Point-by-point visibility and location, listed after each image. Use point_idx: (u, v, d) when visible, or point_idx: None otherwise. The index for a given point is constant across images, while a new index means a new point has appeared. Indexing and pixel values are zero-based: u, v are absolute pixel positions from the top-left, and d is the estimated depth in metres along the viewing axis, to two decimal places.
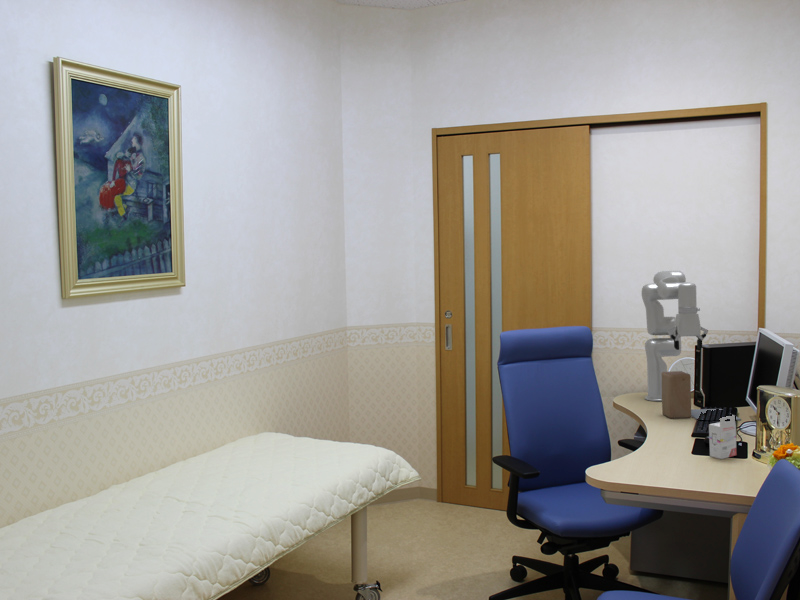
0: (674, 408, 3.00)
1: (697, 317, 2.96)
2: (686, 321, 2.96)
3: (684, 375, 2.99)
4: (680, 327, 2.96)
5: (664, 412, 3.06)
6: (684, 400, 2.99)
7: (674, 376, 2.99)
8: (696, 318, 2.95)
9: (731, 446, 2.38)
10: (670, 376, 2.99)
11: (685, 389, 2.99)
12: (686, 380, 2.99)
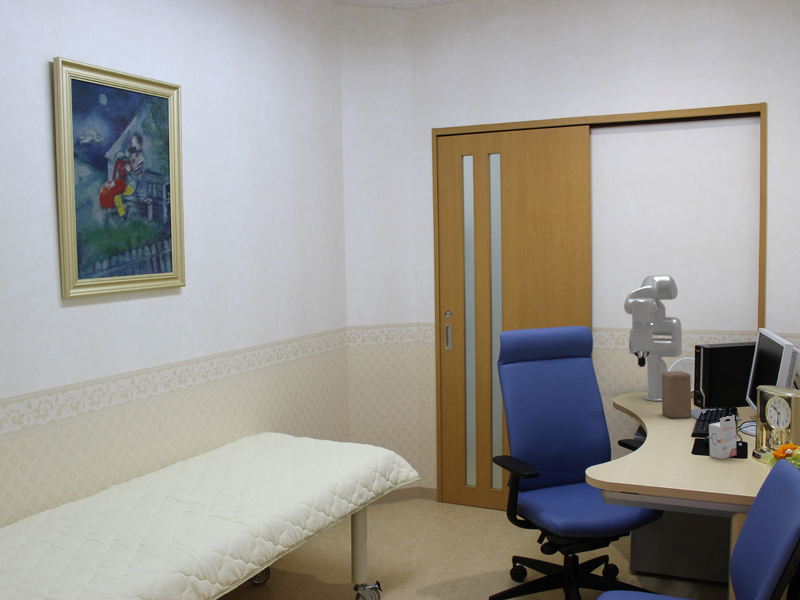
0: (674, 408, 3.00)
1: (650, 332, 3.02)
2: (639, 336, 3.02)
3: (684, 375, 2.99)
4: (634, 342, 3.02)
5: (664, 412, 3.06)
6: (684, 400, 2.99)
7: (674, 376, 2.99)
8: (649, 333, 3.02)
9: (731, 446, 2.38)
10: (670, 376, 2.99)
11: (685, 389, 2.99)
12: (686, 380, 2.99)
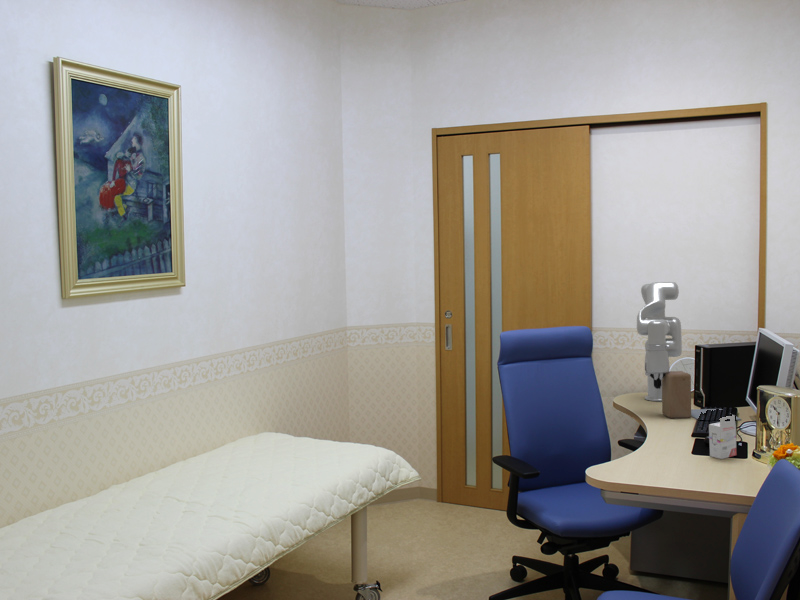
0: (674, 408, 3.00)
1: (666, 354, 3.02)
2: (655, 358, 3.02)
3: (684, 375, 2.99)
4: (650, 364, 3.03)
5: (664, 412, 3.06)
6: (684, 400, 2.99)
7: (674, 376, 2.99)
8: (665, 355, 3.02)
9: (731, 446, 2.38)
10: (670, 376, 2.99)
11: (685, 389, 2.99)
12: (686, 379, 2.99)
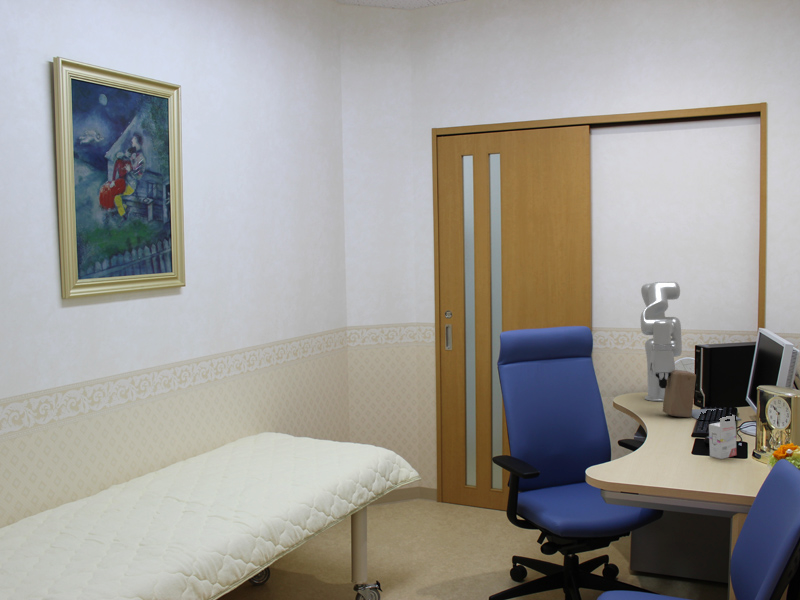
0: (676, 406, 3.00)
1: (671, 354, 3.02)
2: (661, 358, 3.02)
3: (690, 374, 2.99)
4: (655, 364, 3.02)
5: (665, 409, 3.06)
6: (686, 399, 2.99)
7: (680, 374, 2.99)
8: (670, 355, 3.02)
9: (731, 446, 2.38)
10: (676, 373, 2.99)
11: (689, 389, 2.99)
12: (691, 379, 2.99)
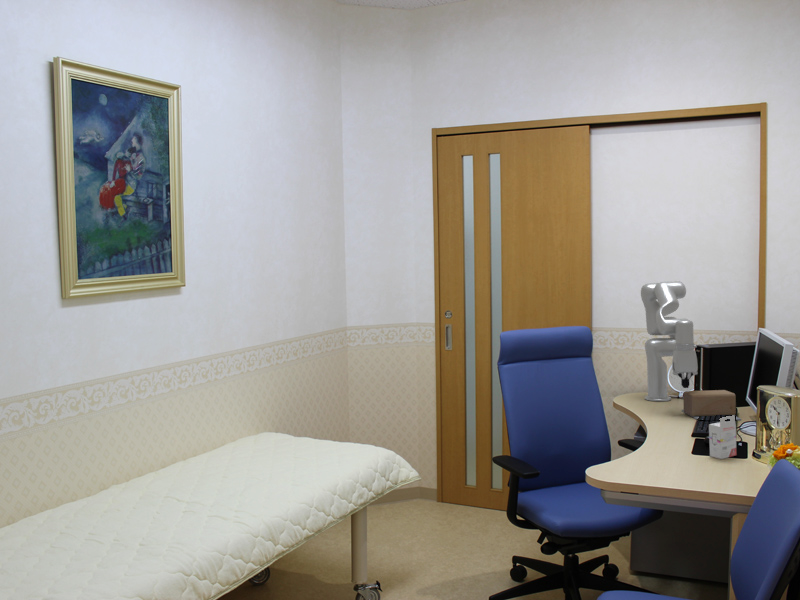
0: (701, 399, 2.99)
1: (694, 354, 3.01)
2: (683, 357, 3.01)
3: (735, 408, 2.99)
4: (678, 363, 3.02)
5: (689, 392, 3.05)
6: (710, 409, 2.99)
7: (734, 399, 2.99)
8: (693, 355, 3.01)
9: (731, 446, 2.38)
10: (734, 395, 2.99)
11: (720, 409, 2.99)
12: (730, 410, 2.99)
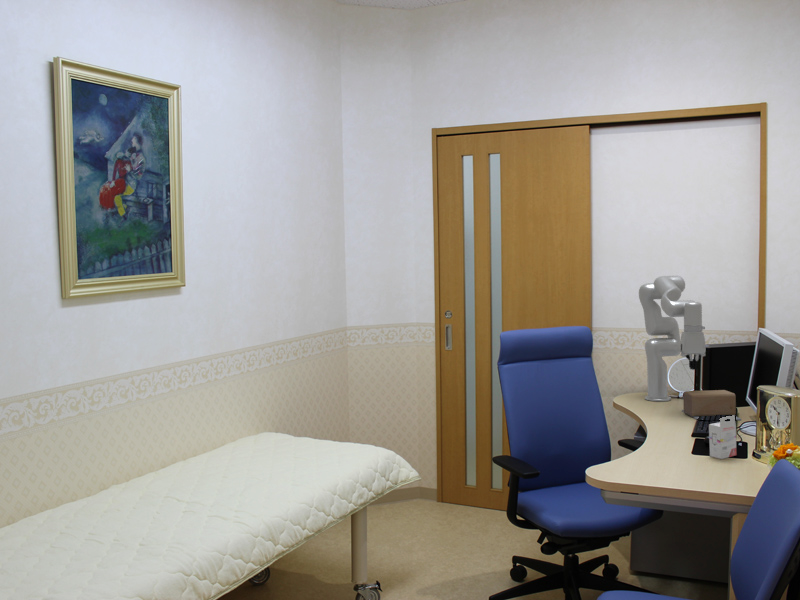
0: (701, 399, 2.99)
1: (702, 335, 3.01)
2: (691, 339, 3.01)
3: (735, 408, 2.99)
4: (686, 345, 3.01)
5: (689, 392, 3.05)
6: (710, 409, 2.99)
7: (734, 399, 2.99)
8: (701, 336, 3.01)
9: (731, 446, 2.38)
10: (734, 395, 2.99)
11: (720, 409, 2.99)
12: (730, 410, 2.99)
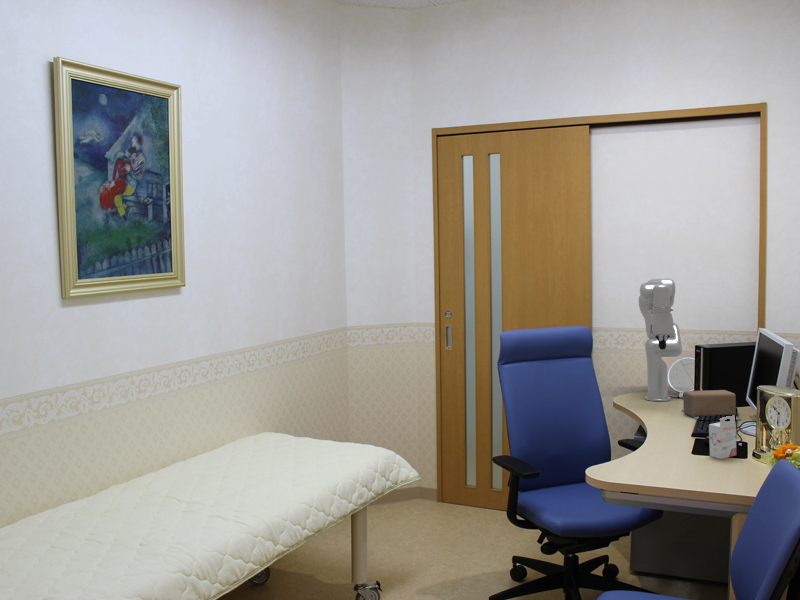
0: (701, 399, 2.99)
1: (670, 317, 3.16)
2: (660, 320, 3.16)
3: (735, 408, 2.99)
4: (655, 326, 3.16)
5: (689, 392, 3.05)
6: (710, 409, 2.99)
7: (734, 399, 2.99)
8: (669, 317, 3.16)
9: (731, 446, 2.38)
10: (734, 395, 2.99)
11: (720, 409, 2.99)
12: (730, 410, 2.99)
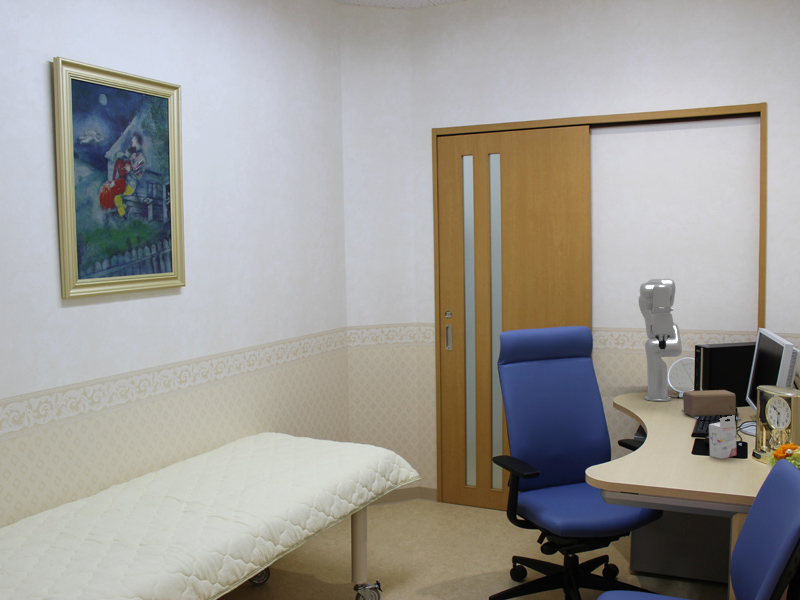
0: (701, 399, 2.99)
1: (670, 316, 3.16)
2: (660, 320, 3.16)
3: (735, 408, 2.99)
4: (655, 326, 3.16)
5: (689, 392, 3.05)
6: (710, 409, 2.99)
7: (734, 399, 2.99)
8: (669, 317, 3.16)
9: (731, 446, 2.38)
10: (734, 395, 2.99)
11: (720, 409, 2.99)
12: (730, 410, 2.99)
